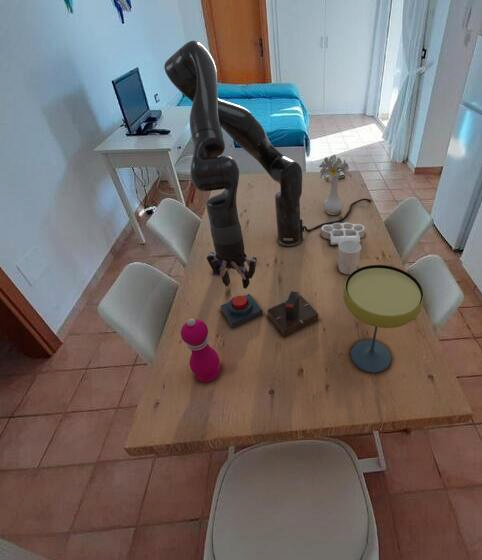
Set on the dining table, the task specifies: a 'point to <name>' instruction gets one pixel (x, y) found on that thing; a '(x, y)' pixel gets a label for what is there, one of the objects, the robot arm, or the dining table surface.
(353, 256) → the white cup
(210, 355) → the pepper mill
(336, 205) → the flower vase
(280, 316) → the switch base
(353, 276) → the cocktail glass
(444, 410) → the dining table surface
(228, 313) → the button box
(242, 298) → the button
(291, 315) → the selector knob handle
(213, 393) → the dining table surface
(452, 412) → the dining table surface
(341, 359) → the dining table surface
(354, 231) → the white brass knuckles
